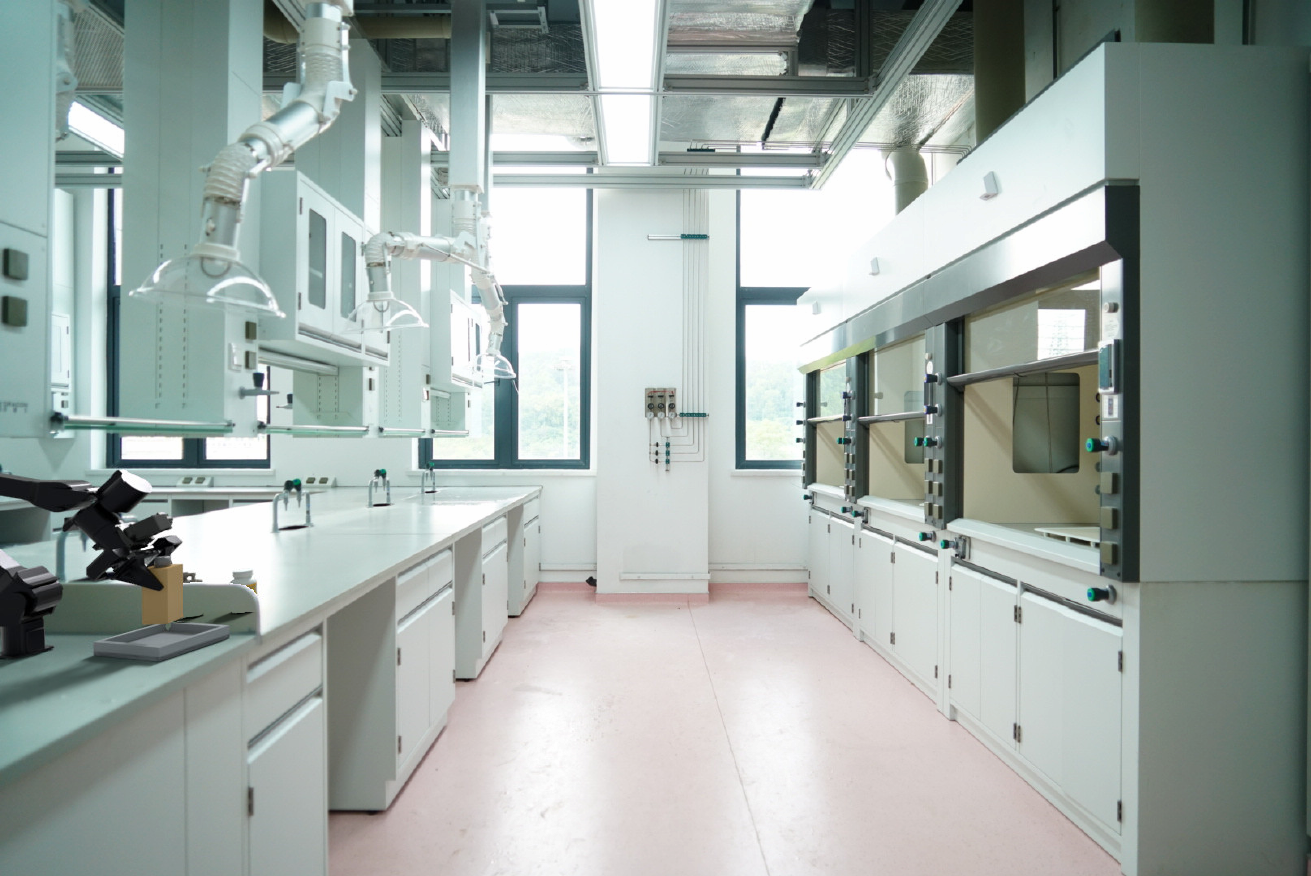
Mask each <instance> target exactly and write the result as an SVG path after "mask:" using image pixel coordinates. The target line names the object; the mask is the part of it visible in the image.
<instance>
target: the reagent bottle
mask: <svg viewBox="0 0 1311 876" xmlns="http://www.w3.org/2000/svg"><path fill="white" fill-rule="evenodd" d="M171 561H172V555H171V556H160V557H155V558H154V566H151V567H148V569H149V570H150V571H151V572H152V573H153V574H154V575H155V576H156V577H157V579H158V580H159V581H160V582H161V583H162V585H163V586H164V588H163V589H162V590H161V591H155V590H152V589H148V588H145V587H141V618H142V619H141V622H142V623H141V625H143V626H145V625H155V624H169V623H171V622H173V621H178V620H181V619H180V618H183V617H184V614H183V572H184V564H183V563H173V564H171Z"/></svg>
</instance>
